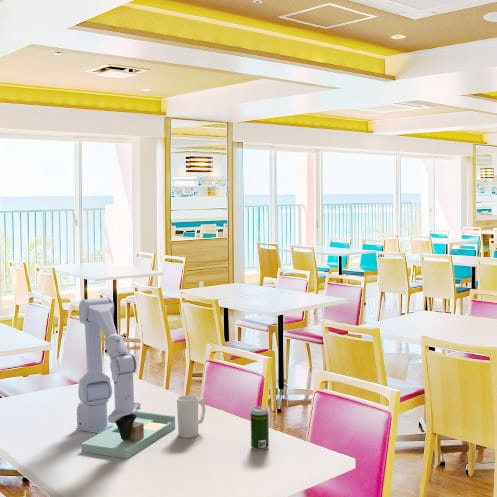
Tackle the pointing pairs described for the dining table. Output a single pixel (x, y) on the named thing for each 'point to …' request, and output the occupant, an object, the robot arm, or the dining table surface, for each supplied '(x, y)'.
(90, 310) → the robot arm
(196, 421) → the mug
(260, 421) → the beer can
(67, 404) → the dining table surface
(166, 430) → the board
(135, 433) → the walnut block
